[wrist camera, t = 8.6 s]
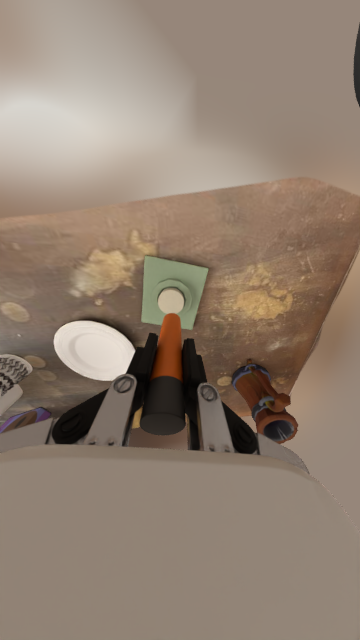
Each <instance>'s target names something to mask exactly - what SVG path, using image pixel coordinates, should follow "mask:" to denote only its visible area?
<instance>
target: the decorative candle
mask: <svg viewBox="0 0 360 640" xmlns="http://www.w3.org/2000/svg"><path fill="white" fill-rule="evenodd" d="M32 369H33V368H32V366H31V364H30V363H28V362H27V361H26V360H24V359H23V358H21V357H18V356H16V355H11V354H4V355H1V356H0V396H3V395H4V394H6V393H7V390H10V389H11V388H13V387H14V386H13V385H15V384H18V383H19V382H21V381H22V379H24V378H25V377H27V376H28V374H30V373H31V372H32ZM16 381H17V382H16Z"/></svg>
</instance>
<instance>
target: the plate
mask: <svg viewBox="0 0 360 640" xmlns="http://www.w3.org/2000/svg"><path fill="white" fill-rule="evenodd" d="M54 347H55V351H56V353H57V354H58V356H59V358H60V359H61V360H62V361H63V362H64V363H65V364H66V366H68V367H69V368H71V369H72V370H73V371H75V372H77V373H79V374H81V375H83V376H85V377H89V378H92V379H96V380H104V381H111V380H114V379H115V378H116V377H118V376H120V375H122V374H126V372H127V369H128V367H129V365H130V362H131V360H132V358H133V355H134V353H135V351H136V350H135V349H134V347H133V345H132V343H131V342H130V341H129V340H128V339H127V338H126V337H125V335H123V334H122V333H120V332H119V331H117V330H116V329H115V328H112V327H110V326H108V325H106V324H103V323H99V322H95V321H85V320H78V321H74V322H70V323H67V324H65V325H64V326H62V327H61V328H59V330H58V331H57V333H56V334H55V337H54Z"/></svg>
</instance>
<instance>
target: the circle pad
mask: <svg viewBox="0 0 360 640" xmlns="http://www.w3.org/2000/svg"><path fill="white" fill-rule="evenodd" d="M158 306H159V308H160V309H161V310H162V311H163V312H164V313H166V314H169V313H175V314H177V313H179V312H180V311H181V310H182V308H183V306H184V297H183V294H182V293H181V292H180V291H179V290H178V289H176V288H166V289H164V290H163V291H162V292H161V294H160V296H159V298H158Z"/></svg>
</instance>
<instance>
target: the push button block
mask: <svg viewBox="0 0 360 640" xmlns="http://www.w3.org/2000/svg"><path fill="white" fill-rule="evenodd" d="M208 270H209V268H206V267H201V266H196V265H192V264H187V263H182V262H177V261H172V260H167V259H162V258H158V257H153V256H148V255H145V264H144V284H143V303H142V322H145V323H151V324H158V325H162V323H163V319H164V317H165V315H167V314H166V313H164V312H163V311H162V310H161V309H160V308H159V306H158V298H159V296H160V294H161V292H162V291H163V290H164V289H166V288H176V289H178V290H179V291H180V292H181V293H182V294H183V297H184V306H183V308H182V310H181V311H180V312H179V313H177V315H178V316H179V317H180V320H181V328H183V329H190V330H192V328H193V324H194V320H195V317H196V313H197V309H198V306H199V302H200V299H201V295H202V291H203V288H204V284H205V280H206V277H207V273H208Z"/></svg>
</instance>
